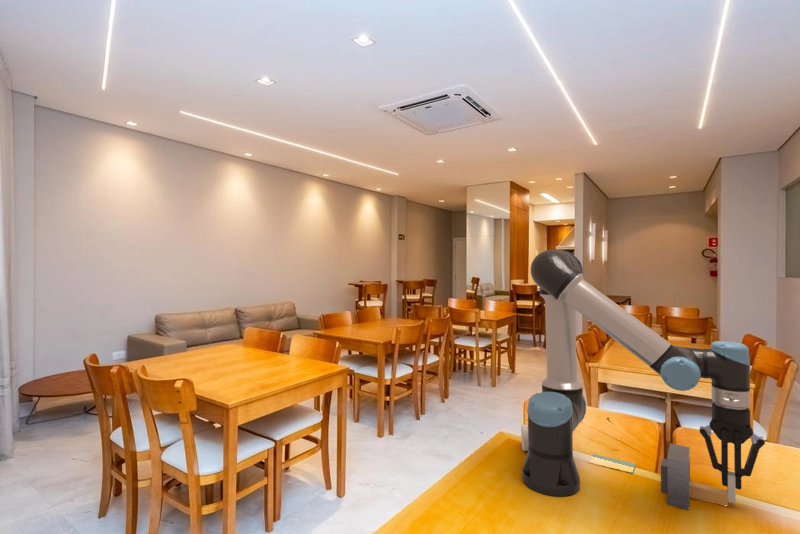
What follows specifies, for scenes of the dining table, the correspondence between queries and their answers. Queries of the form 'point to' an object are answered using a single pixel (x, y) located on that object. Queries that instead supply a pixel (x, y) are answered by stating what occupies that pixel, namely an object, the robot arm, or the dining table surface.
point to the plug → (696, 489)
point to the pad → (616, 461)
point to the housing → (678, 476)
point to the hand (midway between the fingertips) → (731, 499)
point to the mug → (524, 437)
